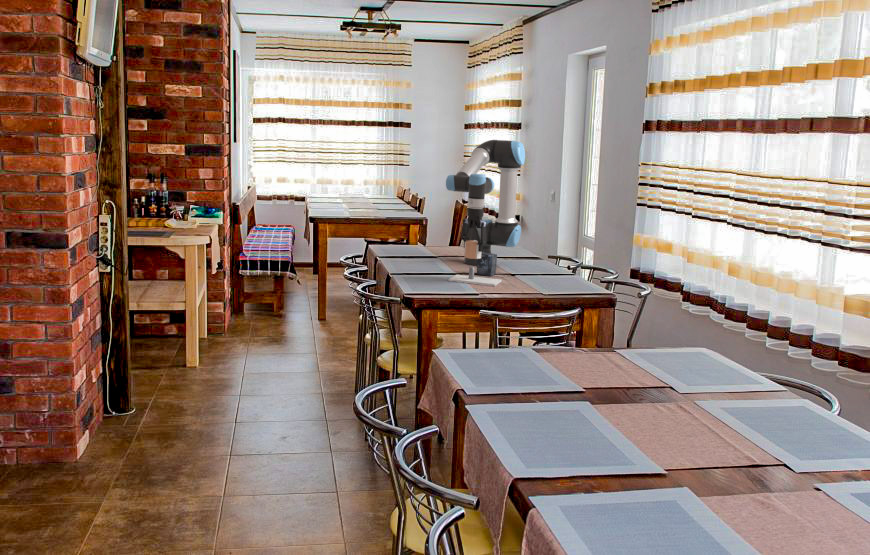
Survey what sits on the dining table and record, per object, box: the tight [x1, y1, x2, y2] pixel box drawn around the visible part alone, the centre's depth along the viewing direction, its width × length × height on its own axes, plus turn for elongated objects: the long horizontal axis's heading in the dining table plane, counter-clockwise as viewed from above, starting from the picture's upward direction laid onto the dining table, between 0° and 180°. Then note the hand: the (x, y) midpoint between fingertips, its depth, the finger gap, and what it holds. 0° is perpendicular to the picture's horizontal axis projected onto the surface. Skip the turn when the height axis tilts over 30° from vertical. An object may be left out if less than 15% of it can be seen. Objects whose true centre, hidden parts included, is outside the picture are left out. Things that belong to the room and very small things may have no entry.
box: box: [476, 252, 498, 277], centre depth 411 cm, size 8×6×11 cm
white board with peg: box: [448, 266, 503, 287], centre depth 393 cm, size 13×22×6 cm, turn 72°
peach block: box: [464, 240, 480, 259], centre depth 391 cm, size 7×7×8 cm
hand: (472, 257), depth 392 cm, fingers closed on peach block, 7 cm apart
